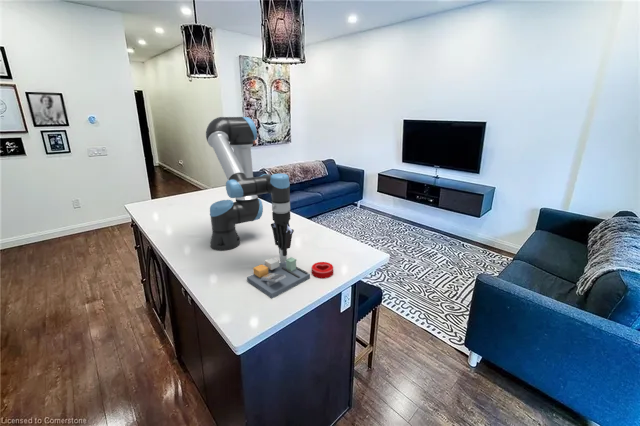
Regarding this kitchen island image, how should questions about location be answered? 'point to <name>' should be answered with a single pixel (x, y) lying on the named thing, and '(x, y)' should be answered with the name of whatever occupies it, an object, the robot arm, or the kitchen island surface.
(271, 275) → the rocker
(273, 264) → the button
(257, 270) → the button
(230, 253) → the kitchen island surface
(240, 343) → the kitchen island surface
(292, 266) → the pale green block
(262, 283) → the panel
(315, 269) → the decorative ornament
